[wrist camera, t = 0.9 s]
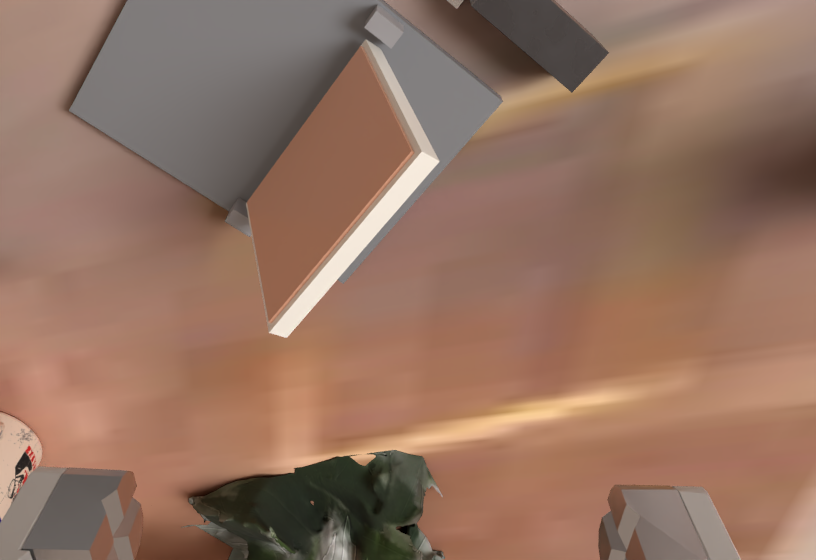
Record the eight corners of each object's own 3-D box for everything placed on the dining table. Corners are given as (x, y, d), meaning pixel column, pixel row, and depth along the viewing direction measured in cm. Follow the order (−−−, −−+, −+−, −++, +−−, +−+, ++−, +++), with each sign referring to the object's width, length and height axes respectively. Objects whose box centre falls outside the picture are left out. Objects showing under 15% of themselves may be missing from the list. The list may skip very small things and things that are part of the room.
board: (207, -143, 38) (194, -142, 36) (501, 96, 46) (505, 111, 43) (75, 105, 46) (57, 120, 44) (344, 276, 53) (341, 296, 51)
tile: (439, 161, 34) (418, 149, 33) (286, 337, 40) (265, 331, 39) (380, 49, 42) (363, 37, 41) (260, 209, 48) (243, 202, 47)
